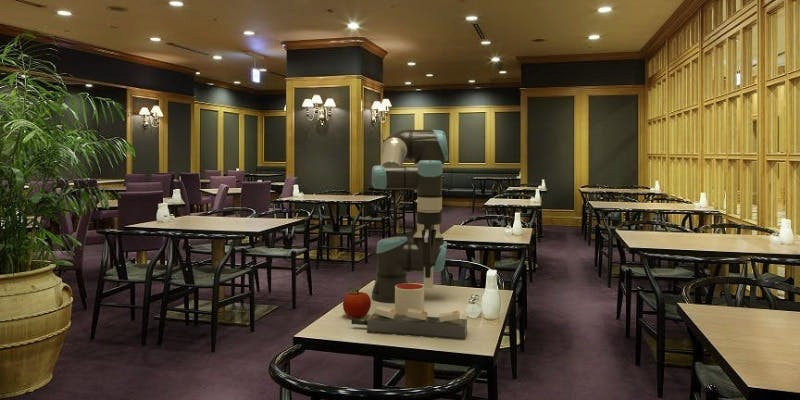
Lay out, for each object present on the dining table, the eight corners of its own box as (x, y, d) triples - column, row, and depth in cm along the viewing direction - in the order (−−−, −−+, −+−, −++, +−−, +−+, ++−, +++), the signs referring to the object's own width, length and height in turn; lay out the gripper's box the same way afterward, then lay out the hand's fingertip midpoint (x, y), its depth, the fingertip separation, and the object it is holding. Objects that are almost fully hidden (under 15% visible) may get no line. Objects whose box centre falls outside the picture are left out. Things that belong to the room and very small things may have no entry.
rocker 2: (408, 313, 183) (409, 307, 183) (427, 317, 182) (428, 311, 182) (406, 316, 180) (407, 310, 179) (425, 320, 179) (426, 314, 178)
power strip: (355, 324, 189) (355, 311, 189) (467, 331, 182) (467, 318, 182) (348, 331, 181) (348, 318, 181) (464, 339, 174) (465, 325, 174)
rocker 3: (441, 318, 181) (440, 313, 181) (460, 315, 180) (459, 310, 180) (440, 322, 178) (438, 316, 178) (459, 318, 176) (458, 313, 176)
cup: (421, 319, 195) (421, 290, 194) (391, 318, 197) (392, 288, 196) (425, 312, 205) (426, 284, 204) (398, 310, 207) (398, 282, 206)
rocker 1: (377, 310, 185) (379, 305, 185) (395, 315, 184) (396, 310, 184) (374, 313, 182) (376, 307, 181) (393, 318, 181) (394, 313, 180)
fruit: (369, 320, 193) (369, 291, 193) (340, 320, 194) (340, 290, 193) (372, 313, 203) (372, 284, 202) (344, 312, 203) (344, 284, 203)
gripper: (420, 208, 185) (419, 282, 187) (413, 212, 172) (412, 291, 174) (444, 209, 183) (443, 283, 185) (438, 213, 171) (437, 293, 173)
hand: (428, 287), depth 180 cm, fingers closed
